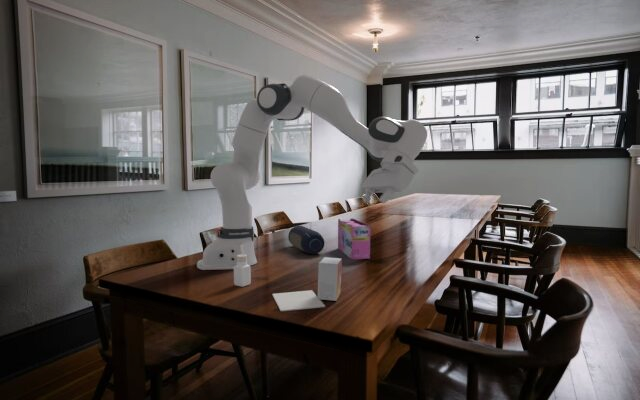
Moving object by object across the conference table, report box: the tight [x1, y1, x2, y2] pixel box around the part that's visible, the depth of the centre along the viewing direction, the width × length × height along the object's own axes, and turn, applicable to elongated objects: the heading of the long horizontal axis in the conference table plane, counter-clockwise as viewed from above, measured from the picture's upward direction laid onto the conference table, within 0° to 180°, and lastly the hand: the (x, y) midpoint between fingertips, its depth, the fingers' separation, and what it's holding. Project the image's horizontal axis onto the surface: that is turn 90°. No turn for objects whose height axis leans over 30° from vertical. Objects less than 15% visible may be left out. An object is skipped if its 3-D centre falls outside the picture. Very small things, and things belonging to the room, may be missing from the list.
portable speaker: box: [288, 225, 325, 255], centre depth 178 cm, size 25×10×10 cm, turn 23°
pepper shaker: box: [233, 254, 252, 288], centre depth 127 cm, size 4×4×10 cm
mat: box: [271, 289, 326, 313], centre depth 112 cm, size 12×14×1 cm
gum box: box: [337, 218, 371, 260], centre depth 172 cm, size 24×8×14 cm, turn 13°
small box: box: [317, 256, 343, 302], centre depth 115 cm, size 8×6×10 cm
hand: (373, 201), depth 122 cm, fingers open, 8 cm apart
